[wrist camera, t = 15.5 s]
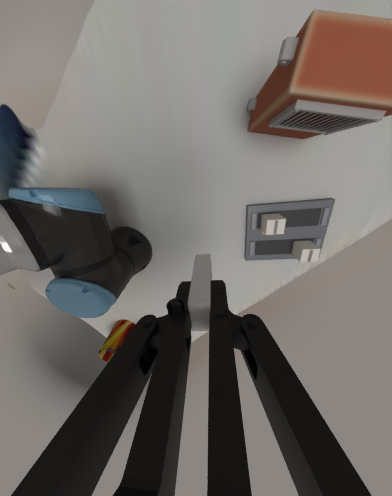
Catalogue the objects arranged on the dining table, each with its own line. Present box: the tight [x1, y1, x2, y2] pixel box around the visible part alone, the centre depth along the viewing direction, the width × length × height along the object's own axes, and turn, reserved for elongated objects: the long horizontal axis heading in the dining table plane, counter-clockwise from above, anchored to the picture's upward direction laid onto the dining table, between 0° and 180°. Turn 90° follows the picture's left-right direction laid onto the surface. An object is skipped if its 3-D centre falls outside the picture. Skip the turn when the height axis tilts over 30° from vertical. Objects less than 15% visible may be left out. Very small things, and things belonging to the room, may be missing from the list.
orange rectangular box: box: [247, 10, 392, 139], centre depth 24 cm, size 21×7×15 cm
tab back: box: [292, 240, 321, 262], centre depth 42 cm, size 4×4×5 cm
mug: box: [99, 320, 135, 362], centre depth 64 cm, size 10×14×12 cm
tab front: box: [260, 213, 286, 235], centre depth 39 cm, size 4×4×5 cm
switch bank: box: [245, 198, 335, 261], centre depth 43 cm, size 20×16×2 cm
